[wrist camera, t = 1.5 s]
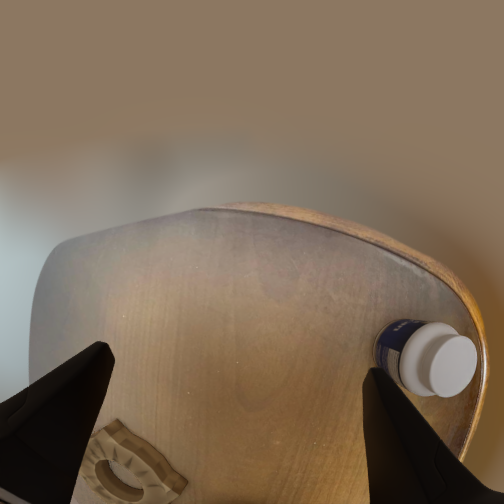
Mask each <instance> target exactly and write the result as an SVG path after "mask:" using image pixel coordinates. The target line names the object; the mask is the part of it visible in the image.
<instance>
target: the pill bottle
mask: <svg viewBox="0 0 504 504" xmlns="http://www.w3.org/2000/svg"><path fill="white" fill-rule="evenodd" d="M373 357H374V361H375V364H376V366H377V367H382V368H383V369H384V370H385V371H386V372H387V373H388V375H389V376H390V377H391V378H392V379H393V381H395V382H396V383H398V384H400V385H401V386H403V387H404V388H405V389H407V390H408V391H410V392H412V393H414V394H416V395H419V396H432V395H435V394H436V395H438V396H441V397H451V396H454V395H456V394H458V393H459V392H461V391H462V390H463V389H464V388H465V387H466V386H467V385H468V383H469V382H470V380H471V379H472V377H473V374H474V372H475V369H476V364H477V352H476V348H475V346H474V344H473V342H472V341H471V340H470V339H469V338H467V337H465V336H460V335H459V334H458V333H457V331H456V330H455V329H454V328H453V327H451V326H449V325H447V324H445V323H440V322H431V321H421V320H410V319H399V320H395V321H393V322H391V323H389V324H387V325H386V326H385V327H384V328H383V329H382V330H381V331H380V332H379V334H378V336H377V337H376V340H375V343H374V347H373Z"/></svg>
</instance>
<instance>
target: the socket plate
mask: <svg viewBox="0 0 504 504" xmlns="http://www.w3.org/2000/svg"><path fill="white" fill-rule="evenodd" d="M107 460H111V461H114V462H117V463H118V464H120V465H122V466H124V467H125V468H127V469H128V470H129V471H130V472H131V473H133V474H134V475H135V476H136V478H137V479H138V480H139V482H140V483H141V484H142V487H143V490H139V489H135V488H131V487H129V486H128V485H126V484H124V483H122V482H121V481H120V480H119V479H118V478H117V477H116V476H115V475H114V474H113V472H112V471H111V469H110V467H109V464H108V461H107ZM78 474H79V475H80V476H81V477H82V478H83V479H84V480H85V482H86V483H87V485H88V486H89V487H90V489H91V490H92V491H93V492H94V493H95V494H96V495H97V496H98V497H99V498H101V499H102V500H103V501H104V502H105V503H106V504H170V503H171V502H172V500H174V499H176V498H177V497H179V496H180V495H181V493H182V491H183V489H184V488H185V486H186V484H187V482H188V481H187V480H185V479H184V478H183V477H181V476H180V475H179V474H178V473H176V472H175V471H174V470H172V468H171V467H170V465H169V464H168V462H167V461H166V459H165V458H164V457H163V456H162V455H161V454H160V453H159V452H158V451H157V450H155V449H154V448H153V447H152V446H151V445H150V444H149V443H148V442H146V441H144V440H142V439H140V438H139V437H137V436H135V435H133V434H131V433H130V432H129V431H128V430H127V429H126V428H125V427H124V426H123V425H122V423H121V422H120V421H119V420H118V419H117V420H115V421H114V422H112V423H110V424H109V425H107V426H106V427H104V428H103V429H102V430H100V431H97V432H96V433H94V434H92V435H91V437H90V439H89V442H88V445H87V448H86V451H85V454H84V457H83V460H82V464H81V467H80V470H79V473H78Z"/></svg>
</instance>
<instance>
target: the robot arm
mask: <svg viewBox="0 0 504 504" xmlns="http://www.w3.org/2000/svg"><path fill="white" fill-rule="evenodd" d="M114 364H115V358H114V355H113V353H112V351H111V349H110V347H109V345H108V344H107V343H105V342H101V341H97V342H95V343H93V344H92V345H90V346H89V347H87V348H86V349H84V350H83V351H81V352H80V353H78V354H77V355H75V356H74V357H72V358H71V359H69V360H68V361H66V362H64V363H63V364H61V365H60V366H58V367H57V368H55V369H54V370H52V371H51V372H49V373H48V374H46V375H45V376H43V377H42V378H40V379H39V380H37V381H36V382H34V383H33V384H31V385H30V386H29V387H27V388H25V389H24V390H22V391H21V392H19V393H17V394H16V395H14V396H13V397H11V398H9V399H7V400H6V401H4V402H2V403H0V504H70V502H71V498H72V494H73V491H74V487H75V484H76V480H77V477H78V473H79V470H80V467H81V464H82V460H83V457H84V454H85V451H86V448H87V445H88V442H89V439H90V437H91V434H92V431H93V428H94V425H95V423H96V420H97V417H98V414H99V412H100V409H101V407H102V404H103V401H104V399H105V396H106V392H107V389H108V385H109V382H110V378H111V374H112V371H113V368H114ZM362 393H363V430H364V439H365V448H366V457H367V467H368V479H369V493H370V504H504V493H501V492H497V491H493V490H491V489H489V488H487V487H486V486H484V485H483V484H482V483H481V482H480V481H479V480H478V479H477V478H476V477H475V476H474V475H473V474H472V473H471V472H470V471H469V470H468V469H467V468H466V467H465V466H464V465H463V464H462V463H461V462H460V461H459V460H458V459H457V458H456V457H455V455H454V454H453V453H452V452H451V451H450V449H449V448H448V447H447V446H446V445H445V443H444V442H443V441H442V440H440V437H439V436H438V435H437V433H436V432H435V431H434V430H433V428H432V427H431V426H430V425H429V423H428V422H427V421H426V420H425V418H424V417H423V416H422V415H421V414H420V412H419V411H418V410H417V409H416V407H415V406H414V405H413V404H412V402H411V401H410V400H409V399H408V398H407V396H406V395H405V394H404V393H403V392H402V390H401V389H400V388H399V387H398V385H397V384H396V383H395V382H394V381H393V379H392V378H391V377H390V376H389V375H388V373H387V372H386V371H385V370H384V369H383V368H382V367H372V368H370V369H369V370H368V373H367V375H366V377H365V379H364V382H363V386H362Z"/></svg>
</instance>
